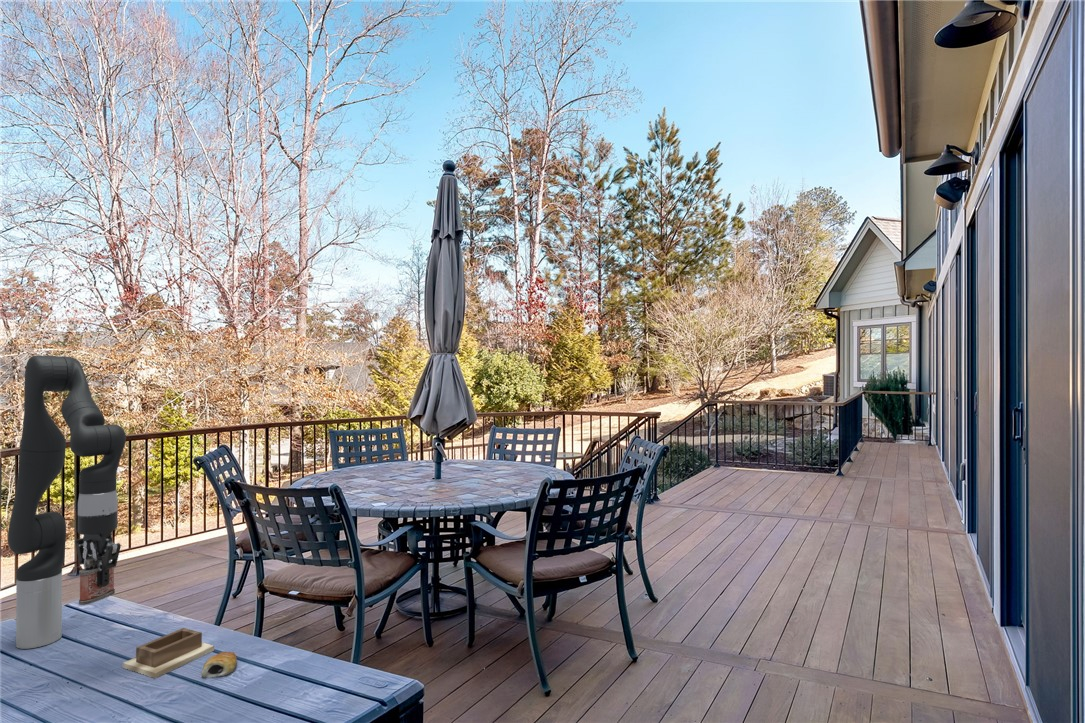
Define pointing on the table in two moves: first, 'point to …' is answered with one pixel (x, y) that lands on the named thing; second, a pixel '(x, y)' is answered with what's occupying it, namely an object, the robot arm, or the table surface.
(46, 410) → the robot arm
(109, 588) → the lighter
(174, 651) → the wooden box with base
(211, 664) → the pastry
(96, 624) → the table surface
